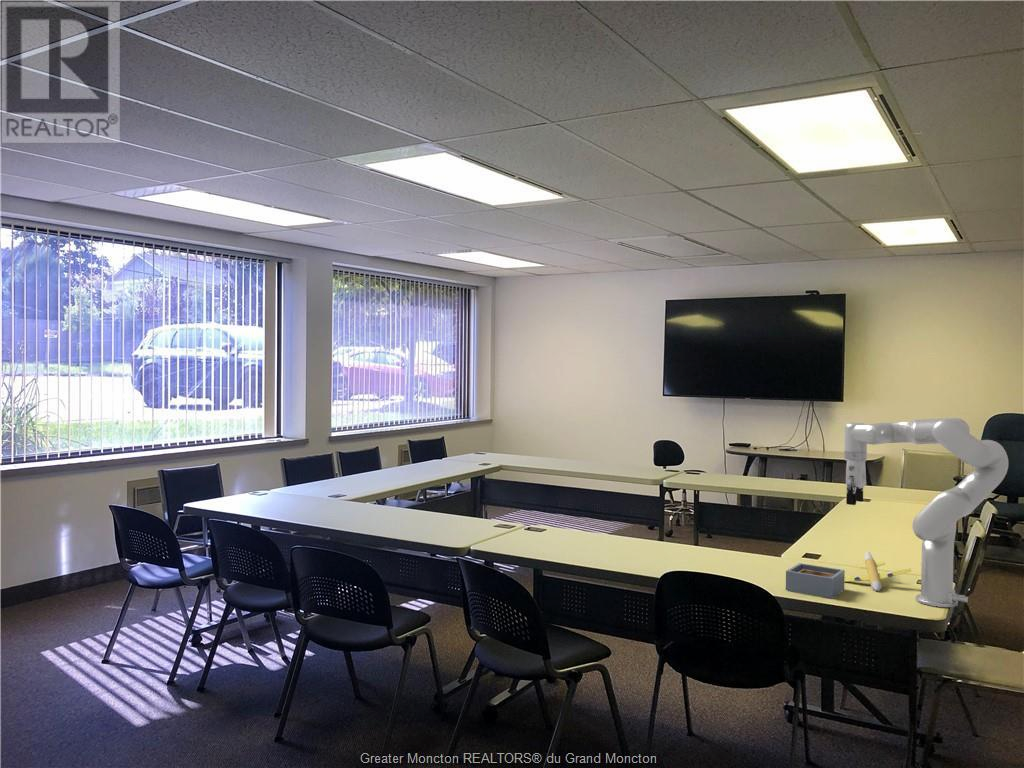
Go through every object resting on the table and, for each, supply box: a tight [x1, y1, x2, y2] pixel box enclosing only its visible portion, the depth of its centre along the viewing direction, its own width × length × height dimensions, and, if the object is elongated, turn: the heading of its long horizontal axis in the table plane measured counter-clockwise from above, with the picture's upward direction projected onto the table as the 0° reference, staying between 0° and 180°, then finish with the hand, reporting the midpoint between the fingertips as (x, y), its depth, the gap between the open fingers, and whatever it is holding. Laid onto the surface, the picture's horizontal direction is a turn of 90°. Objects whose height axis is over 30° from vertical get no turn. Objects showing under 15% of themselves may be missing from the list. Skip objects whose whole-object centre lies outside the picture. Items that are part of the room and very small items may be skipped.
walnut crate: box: [799, 569, 834, 577], centre depth 279 cm, size 11×6×5 cm, turn 52°
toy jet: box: [844, 550, 912, 592], centre depth 290 cm, size 26×7×30 cm
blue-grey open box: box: [785, 562, 846, 599], centre depth 279 cm, size 16×15×7 cm
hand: (854, 502), depth 285 cm, fingers open, 9 cm apart
